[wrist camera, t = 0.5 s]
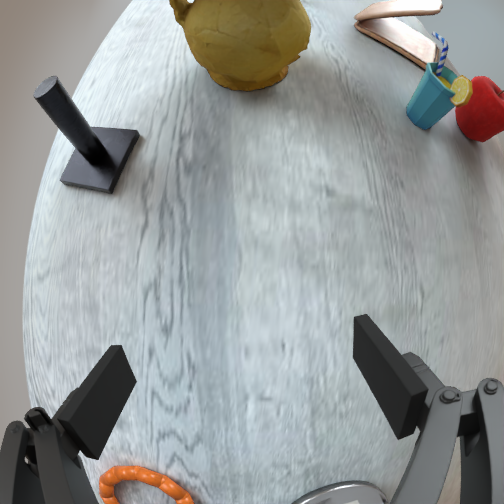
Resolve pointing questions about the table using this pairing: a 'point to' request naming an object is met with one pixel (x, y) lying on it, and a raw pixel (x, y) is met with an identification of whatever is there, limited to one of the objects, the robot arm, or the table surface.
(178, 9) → the pitcher
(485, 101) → the apple
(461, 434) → the robot arm
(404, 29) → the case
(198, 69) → the table surface
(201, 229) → the table surface
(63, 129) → the peg stand
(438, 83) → the cup
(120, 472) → the ring
